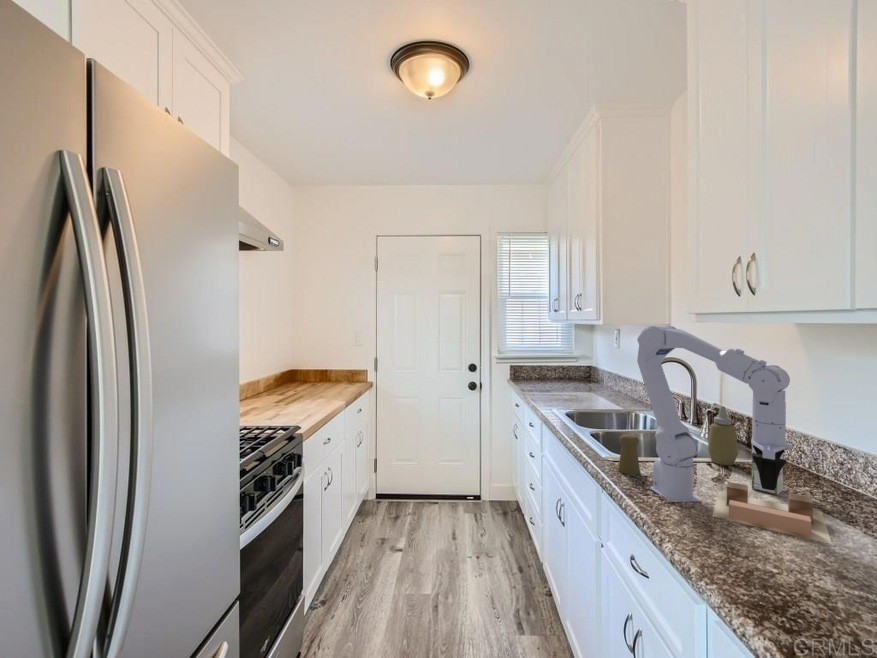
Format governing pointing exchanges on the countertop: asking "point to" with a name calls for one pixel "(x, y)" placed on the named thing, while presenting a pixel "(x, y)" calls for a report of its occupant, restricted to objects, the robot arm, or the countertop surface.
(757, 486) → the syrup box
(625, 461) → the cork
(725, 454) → the squeeze bottle
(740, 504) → the beam
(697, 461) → the countertop surface
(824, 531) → the board
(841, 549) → the countertop surface
